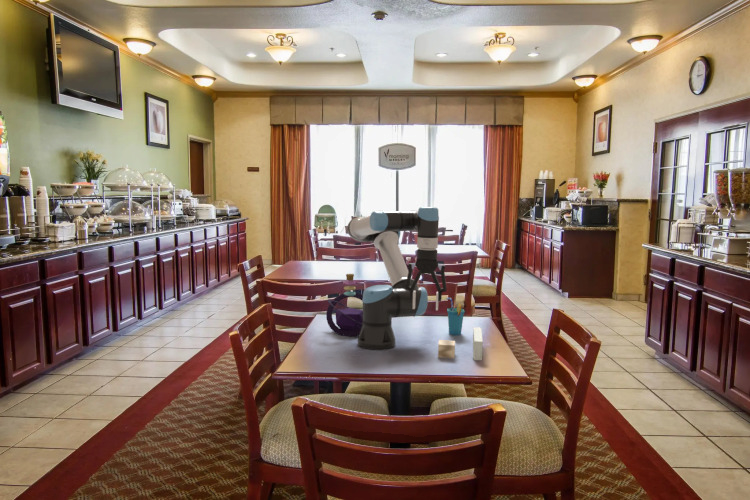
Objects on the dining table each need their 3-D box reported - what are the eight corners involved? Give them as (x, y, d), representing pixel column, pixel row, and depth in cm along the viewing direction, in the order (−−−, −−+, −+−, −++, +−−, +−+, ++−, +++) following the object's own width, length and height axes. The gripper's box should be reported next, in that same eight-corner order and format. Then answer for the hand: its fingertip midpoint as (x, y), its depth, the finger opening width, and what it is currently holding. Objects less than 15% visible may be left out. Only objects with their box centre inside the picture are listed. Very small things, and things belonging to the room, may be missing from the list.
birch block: (437, 357, 189) (438, 344, 188) (438, 352, 195) (439, 339, 194) (454, 358, 188) (454, 345, 187) (454, 353, 194) (455, 340, 193)
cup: (438, 329, 226) (439, 296, 224) (453, 328, 229) (454, 295, 227) (454, 338, 213) (455, 303, 212) (470, 336, 216) (471, 302, 214)
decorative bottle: (316, 334, 216) (316, 275, 213) (335, 322, 236) (335, 268, 233) (365, 339, 209) (366, 279, 206) (381, 327, 229) (382, 272, 226)
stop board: (473, 359, 187) (474, 341, 186) (472, 343, 206) (473, 327, 205) (481, 360, 186) (482, 341, 185) (480, 344, 206) (481, 327, 205)
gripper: (398, 248, 186) (396, 309, 189) (455, 251, 183) (453, 313, 185) (400, 246, 194) (399, 305, 196) (455, 248, 190) (453, 308, 193)
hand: (425, 308), depth 191 cm, fingers open, 8 cm apart
